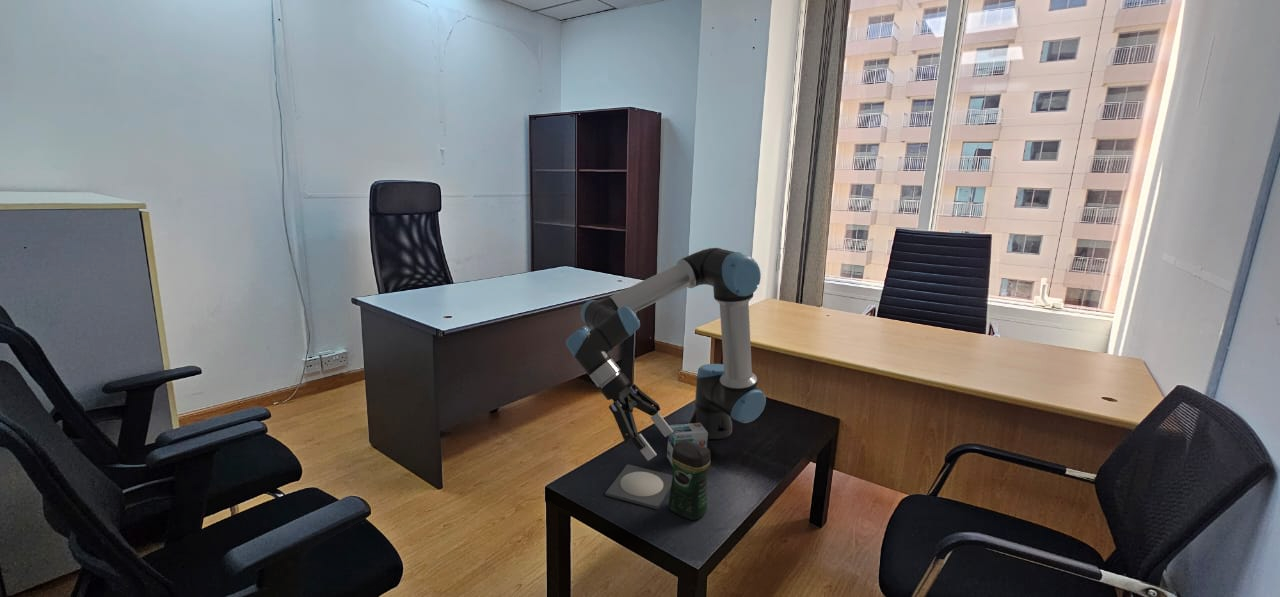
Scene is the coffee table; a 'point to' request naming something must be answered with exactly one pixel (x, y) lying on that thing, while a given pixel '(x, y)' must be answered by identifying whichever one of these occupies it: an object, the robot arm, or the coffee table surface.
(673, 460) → the coffee jar
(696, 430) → the light bulb box
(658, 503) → the marker mat
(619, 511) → the coffee table surface
